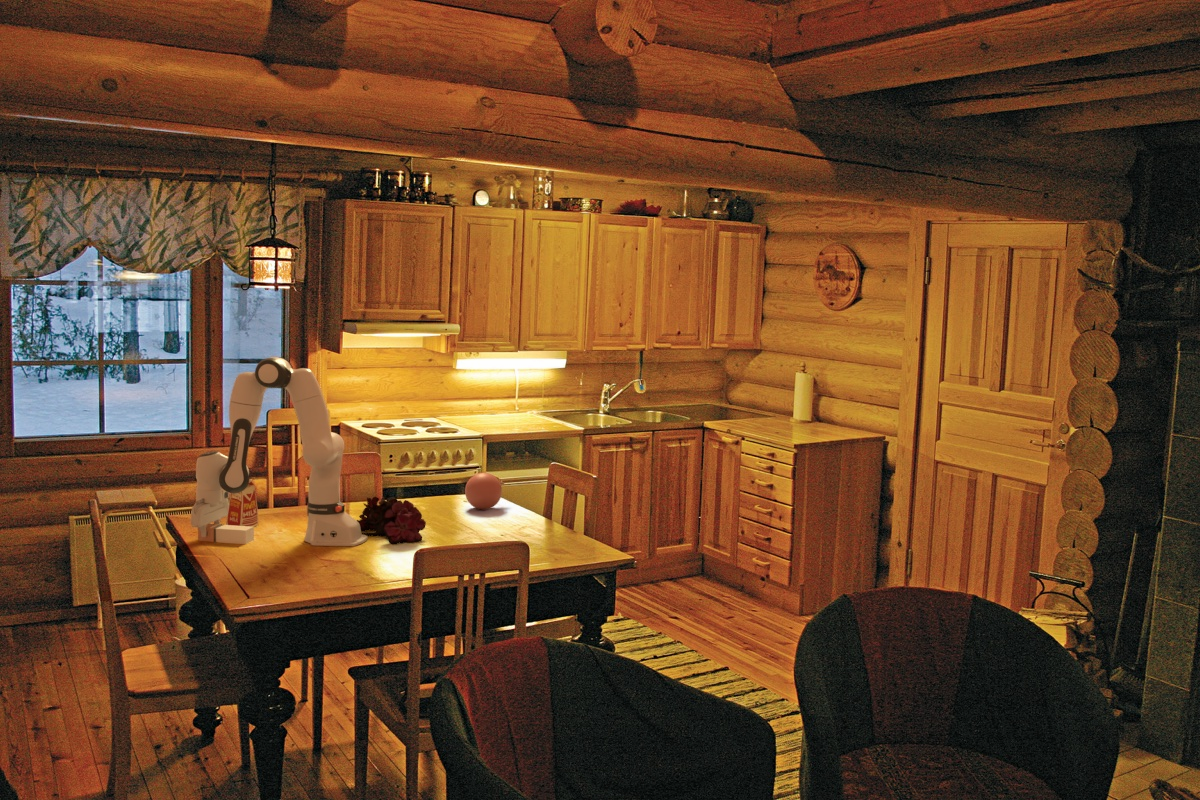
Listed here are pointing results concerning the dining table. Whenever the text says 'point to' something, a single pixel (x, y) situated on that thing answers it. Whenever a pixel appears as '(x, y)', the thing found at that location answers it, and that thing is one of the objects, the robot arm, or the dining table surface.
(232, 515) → the milk carton
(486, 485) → the balloon
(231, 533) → the cream rectangular block
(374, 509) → the flower arrangement
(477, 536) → the dining table surface
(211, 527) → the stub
